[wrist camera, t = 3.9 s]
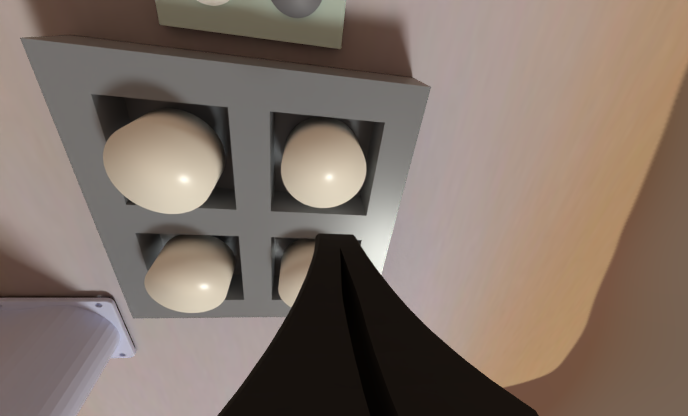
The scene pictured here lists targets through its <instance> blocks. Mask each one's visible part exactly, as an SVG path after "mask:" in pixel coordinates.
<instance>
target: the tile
mask: <svg viewBox="0 0 688 416" xmlns="http://www.w3.org/2000/svg"><path fill="white" fill-rule="evenodd" d="M155 3H156V8H157V14H158V20H159V25H165V26H172V27H180V28H187V29H195V30H202V31H210V32H217V33H224V34H232V35H239V36H247V37H254V38H262V39H269V40H276V41H284V42H291V43H299V44H306V45H314V46H321V47H328V48H336V49H341V44H342V34H343V24H344V15H345V5H346V0H155Z"/></svg>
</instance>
